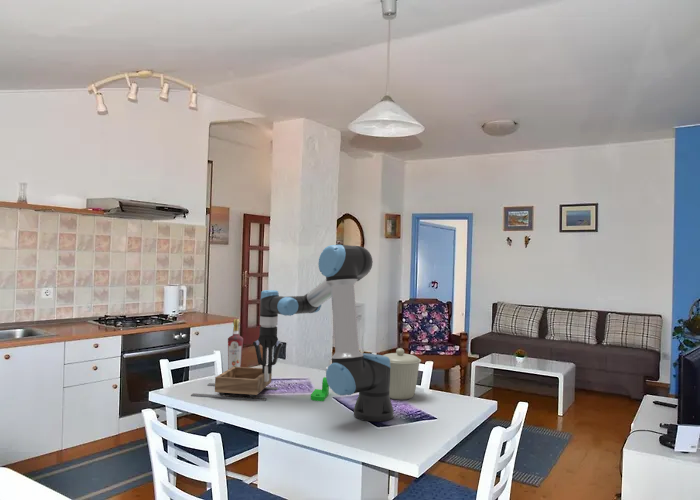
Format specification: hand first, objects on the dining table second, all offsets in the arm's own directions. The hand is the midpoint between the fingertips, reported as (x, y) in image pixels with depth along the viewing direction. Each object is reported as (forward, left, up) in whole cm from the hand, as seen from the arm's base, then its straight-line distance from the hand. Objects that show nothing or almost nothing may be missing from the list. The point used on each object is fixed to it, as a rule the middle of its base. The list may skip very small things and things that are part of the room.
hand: (266, 380), depth 224 cm
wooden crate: (0, +10, -6) cm, 11 cm away
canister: (+9, -57, -6) cm, 58 cm away
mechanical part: (0, -23, -6) cm, 24 cm away
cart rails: (0, +13, -6) cm, 14 cm away
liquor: (+26, +23, -6) cm, 35 cm away
